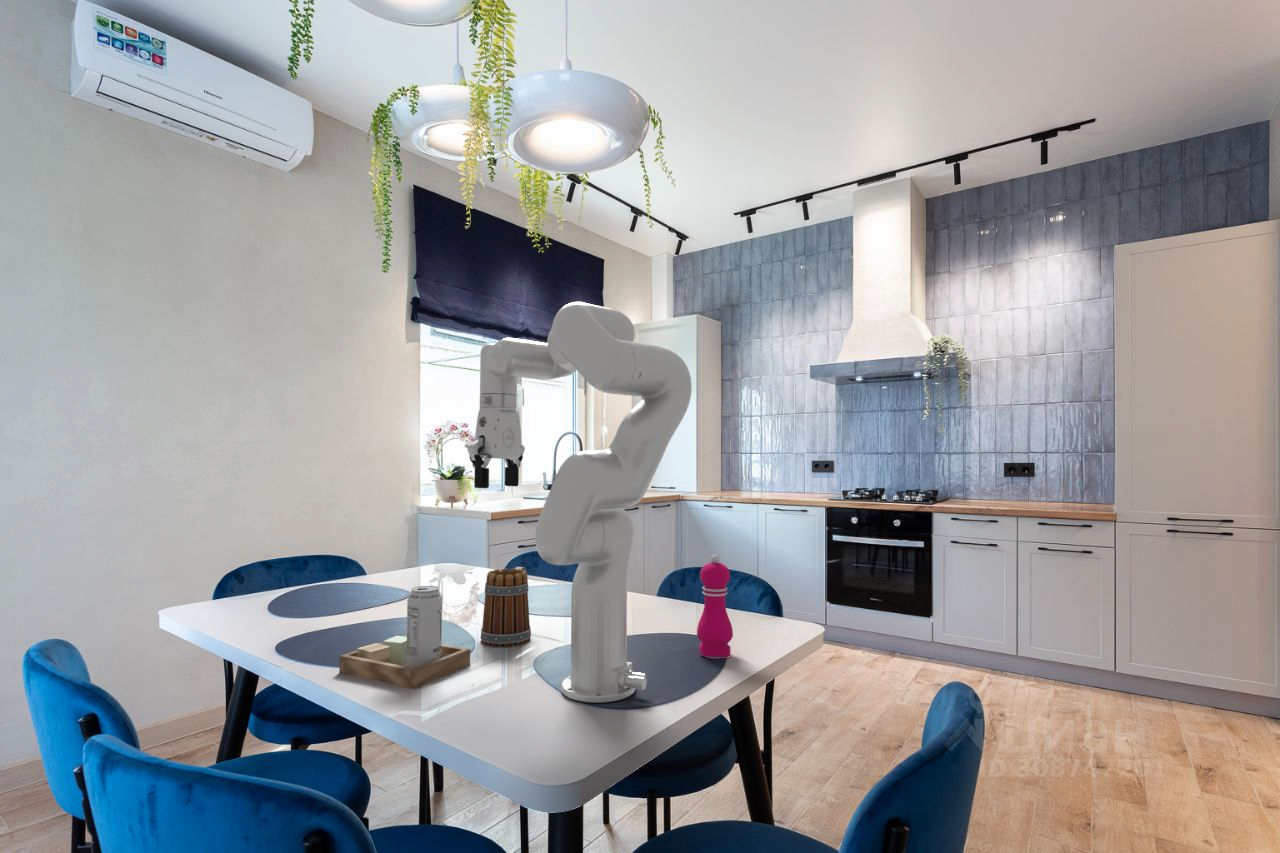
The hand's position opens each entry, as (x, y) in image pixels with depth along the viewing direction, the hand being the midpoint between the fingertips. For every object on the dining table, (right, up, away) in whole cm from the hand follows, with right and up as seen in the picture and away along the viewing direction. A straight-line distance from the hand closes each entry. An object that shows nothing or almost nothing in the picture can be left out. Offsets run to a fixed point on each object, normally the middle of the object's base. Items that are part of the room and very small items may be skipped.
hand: (497, 487), depth 136 cm
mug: (+2, -34, +7) cm, 34 cm away
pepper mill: (+45, -34, -3) cm, 56 cm away
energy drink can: (-10, -32, -17) cm, 37 cm away
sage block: (-17, -32, -10) cm, 38 cm away
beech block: (-19, -32, -15) cm, 40 cm away
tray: (-13, -33, -15) cm, 38 cm away
